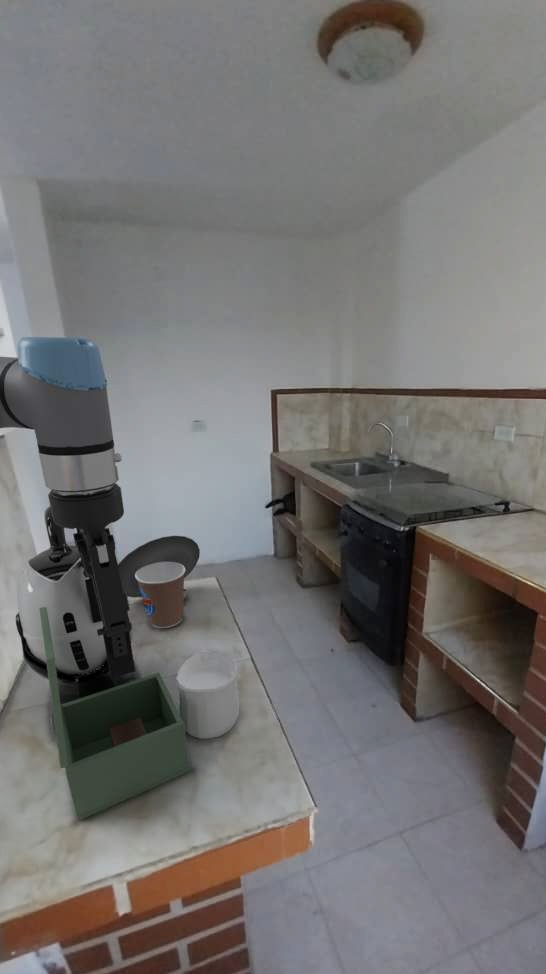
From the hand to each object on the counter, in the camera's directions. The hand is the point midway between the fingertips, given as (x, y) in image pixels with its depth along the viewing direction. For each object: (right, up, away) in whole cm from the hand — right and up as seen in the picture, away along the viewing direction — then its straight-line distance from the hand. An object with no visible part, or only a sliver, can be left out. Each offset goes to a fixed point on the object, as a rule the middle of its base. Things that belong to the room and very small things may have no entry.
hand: (112, 644), depth 60 cm
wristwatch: (-8, 0, +51) cm, 52 cm away
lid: (-6, -4, -2) cm, 8 cm away
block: (0, -18, +7) cm, 19 cm away
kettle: (-11, -13, +20) cm, 27 cm away
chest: (-1, -19, +7) cm, 20 cm away
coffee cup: (-5, -4, +42) cm, 43 cm away
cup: (+10, -16, +15) cm, 24 cm away
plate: (-8, +6, +45) cm, 46 cm away
